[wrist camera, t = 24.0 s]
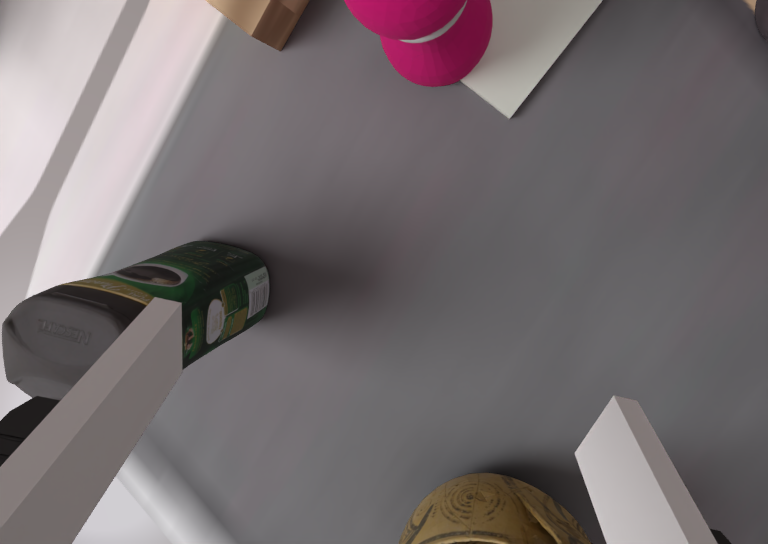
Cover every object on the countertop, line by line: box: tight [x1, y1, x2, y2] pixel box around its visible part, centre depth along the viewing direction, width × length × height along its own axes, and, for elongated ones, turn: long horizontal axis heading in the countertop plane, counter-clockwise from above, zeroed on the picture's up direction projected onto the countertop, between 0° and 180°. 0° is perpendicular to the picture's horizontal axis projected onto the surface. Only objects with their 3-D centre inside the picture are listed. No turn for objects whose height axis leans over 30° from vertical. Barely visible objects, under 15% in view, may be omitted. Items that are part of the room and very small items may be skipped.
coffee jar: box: [2, 241, 270, 400], centre depth 34 cm, size 10×8×19 cm
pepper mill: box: [344, 0, 493, 87], centre depth 24 cm, size 7×7×20 cm
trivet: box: [459, 0, 603, 119], centre depth 32 cm, size 11×11×1 cm
